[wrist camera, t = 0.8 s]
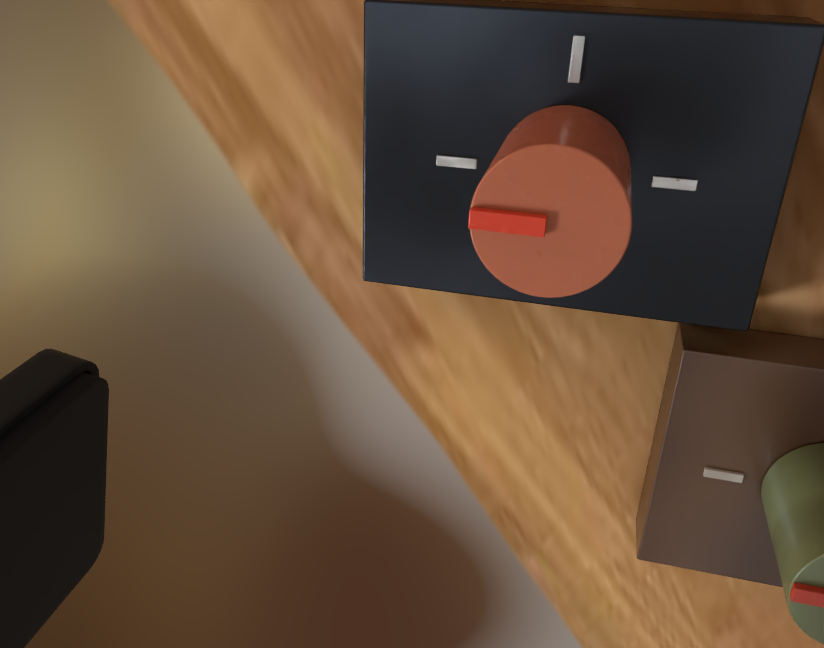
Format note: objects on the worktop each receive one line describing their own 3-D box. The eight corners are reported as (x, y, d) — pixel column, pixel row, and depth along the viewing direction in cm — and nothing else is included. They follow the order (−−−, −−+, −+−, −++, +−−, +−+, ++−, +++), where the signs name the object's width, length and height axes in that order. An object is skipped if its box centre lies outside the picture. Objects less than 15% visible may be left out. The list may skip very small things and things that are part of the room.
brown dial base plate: (1029, 365, 27) (1067, 405, 25) (933, 575, 32) (957, 624, 29) (678, 319, 30) (683, 351, 27) (635, 520, 34) (636, 562, 32)
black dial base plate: (811, 17, 24) (830, 25, 22) (739, 303, 29) (749, 335, 26) (384, -7, 27) (361, -1, 25) (380, 258, 32) (360, 283, 29)
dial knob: (641, 110, 24) (645, 155, 19) (619, 241, 26) (618, 312, 21) (502, 99, 25) (472, 139, 20) (491, 226, 27) (461, 292, 22)
